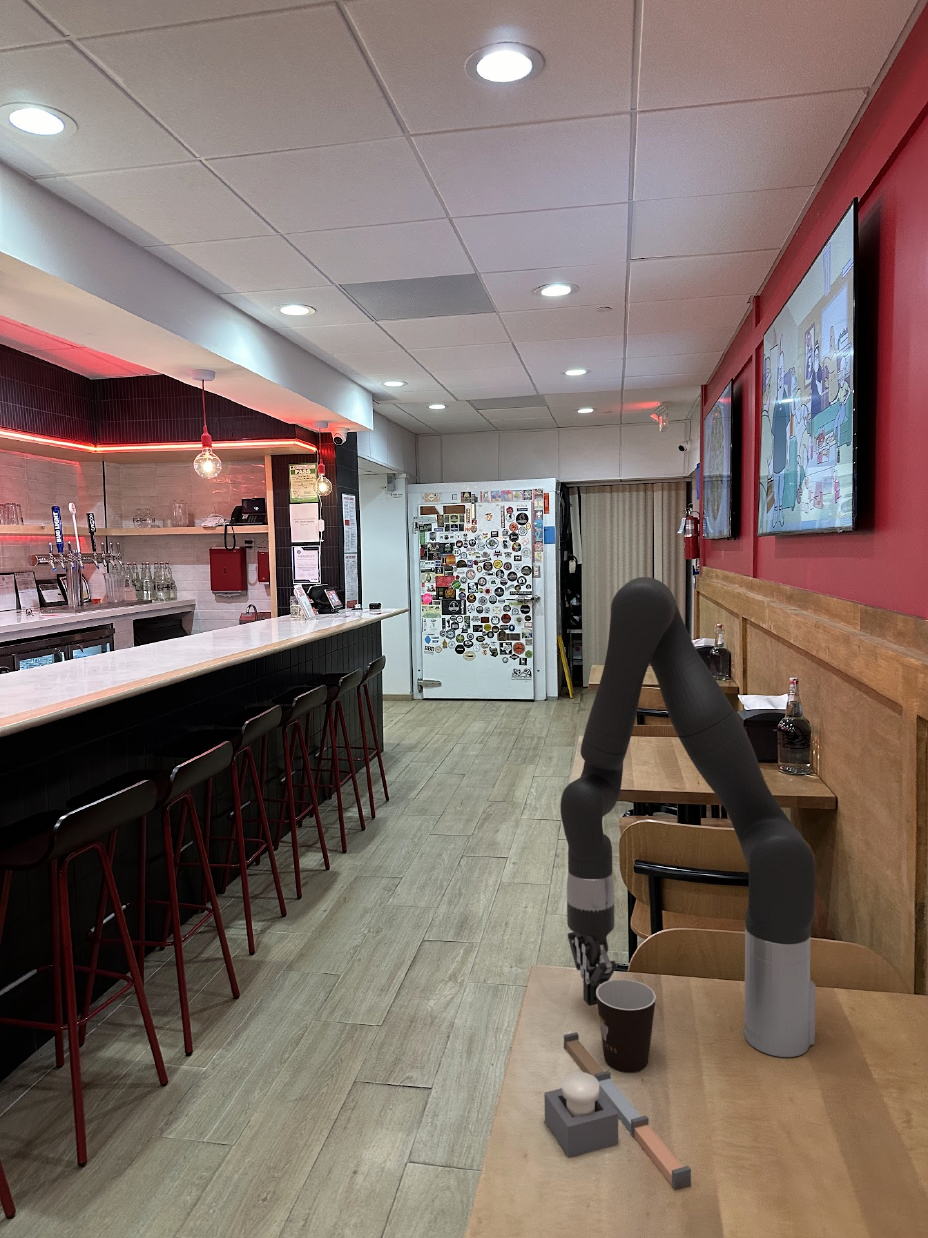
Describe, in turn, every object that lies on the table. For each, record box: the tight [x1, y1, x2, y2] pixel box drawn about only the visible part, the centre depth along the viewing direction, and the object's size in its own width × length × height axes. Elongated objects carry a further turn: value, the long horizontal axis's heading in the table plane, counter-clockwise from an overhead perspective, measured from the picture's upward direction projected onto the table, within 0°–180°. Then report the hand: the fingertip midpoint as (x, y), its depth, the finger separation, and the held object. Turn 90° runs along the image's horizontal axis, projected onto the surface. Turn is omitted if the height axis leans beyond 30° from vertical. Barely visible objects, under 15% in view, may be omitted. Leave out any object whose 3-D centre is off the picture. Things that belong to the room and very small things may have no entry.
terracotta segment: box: [630, 1115, 692, 1191], centre depth 102 cm, size 2×10×2 cm, turn 19°
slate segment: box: [595, 1070, 642, 1133], centre depth 111 cm, size 2×10×2 cm, turn 19°
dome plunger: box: [561, 1071, 599, 1118], centre depth 106 cm, size 5×5×6 cm
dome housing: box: [543, 1087, 619, 1159], centre depth 106 cm, size 7×7×4 cm
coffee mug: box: [596, 978, 657, 1074], centre depth 123 cm, size 12×9×10 cm
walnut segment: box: [563, 1031, 605, 1077], centre depth 121 cm, size 2×10×2 cm, turn 18°
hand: (591, 1002), depth 134 cm, fingers closed
